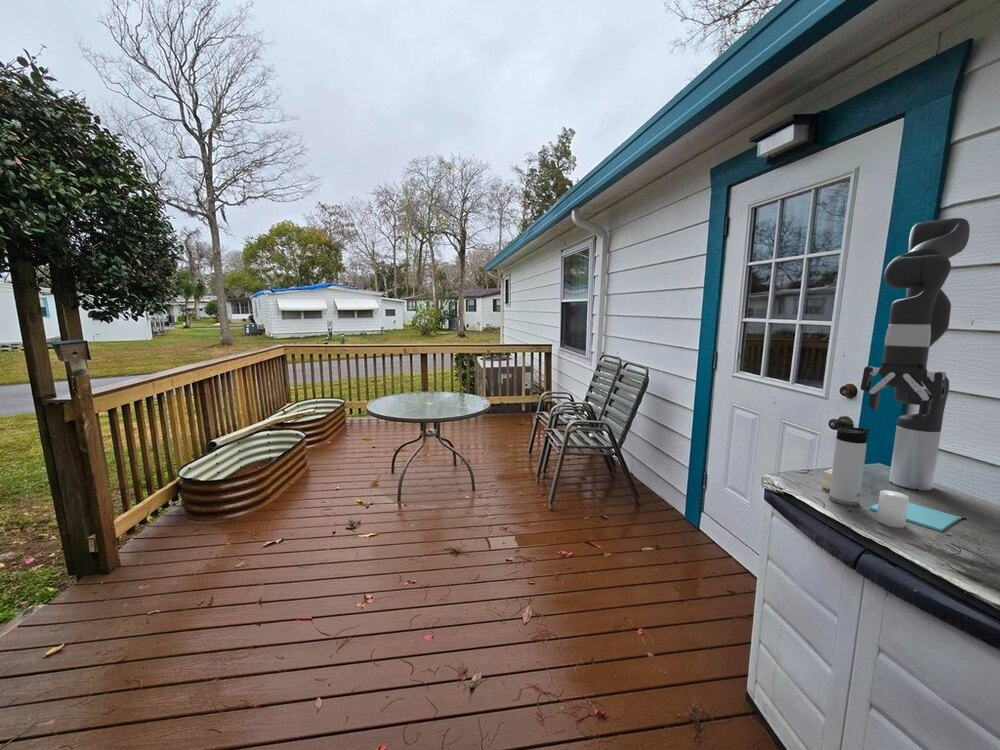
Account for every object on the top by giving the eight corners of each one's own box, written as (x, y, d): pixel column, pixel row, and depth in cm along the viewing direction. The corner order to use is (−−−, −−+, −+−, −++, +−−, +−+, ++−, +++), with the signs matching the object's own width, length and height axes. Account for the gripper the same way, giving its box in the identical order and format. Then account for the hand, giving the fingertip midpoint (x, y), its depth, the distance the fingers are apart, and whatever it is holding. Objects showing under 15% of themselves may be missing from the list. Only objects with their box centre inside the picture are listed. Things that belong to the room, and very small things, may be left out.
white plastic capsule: (881, 516, 103) (884, 488, 102) (908, 524, 99) (912, 496, 98) (872, 520, 101) (876, 492, 100) (900, 529, 96) (904, 500, 96)
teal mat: (890, 499, 113) (890, 497, 113) (959, 519, 102) (959, 517, 102) (869, 509, 107) (869, 507, 107) (941, 531, 96) (941, 529, 96)
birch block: (830, 485, 123) (832, 468, 123) (850, 491, 119) (852, 474, 119) (821, 488, 121) (823, 471, 120) (842, 494, 117) (844, 477, 116)
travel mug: (866, 507, 108) (876, 431, 106) (837, 504, 109) (846, 430, 107) (851, 497, 114) (860, 425, 112) (823, 495, 115) (832, 424, 113)
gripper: (955, 345, 93) (945, 417, 95) (874, 342, 105) (866, 406, 107) (944, 346, 89) (933, 420, 91) (861, 342, 102) (853, 408, 104)
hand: (897, 412), depth 99 cm, fingers open, 8 cm apart
